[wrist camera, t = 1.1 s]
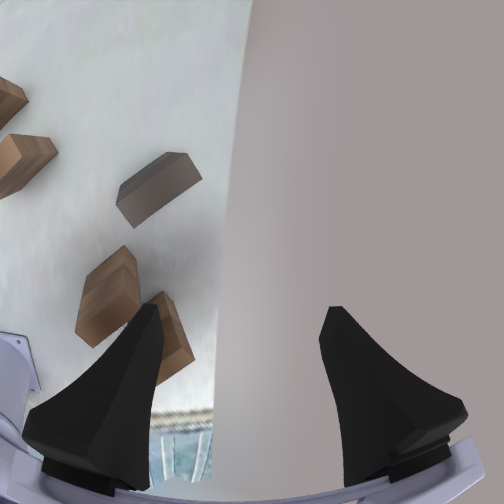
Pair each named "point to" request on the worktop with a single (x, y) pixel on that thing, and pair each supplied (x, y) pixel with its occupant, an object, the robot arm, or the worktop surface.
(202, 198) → the worktop surface
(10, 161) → the domino
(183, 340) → the domino
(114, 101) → the worktop surface
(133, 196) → the ebony domino
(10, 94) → the domino
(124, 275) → the domino
